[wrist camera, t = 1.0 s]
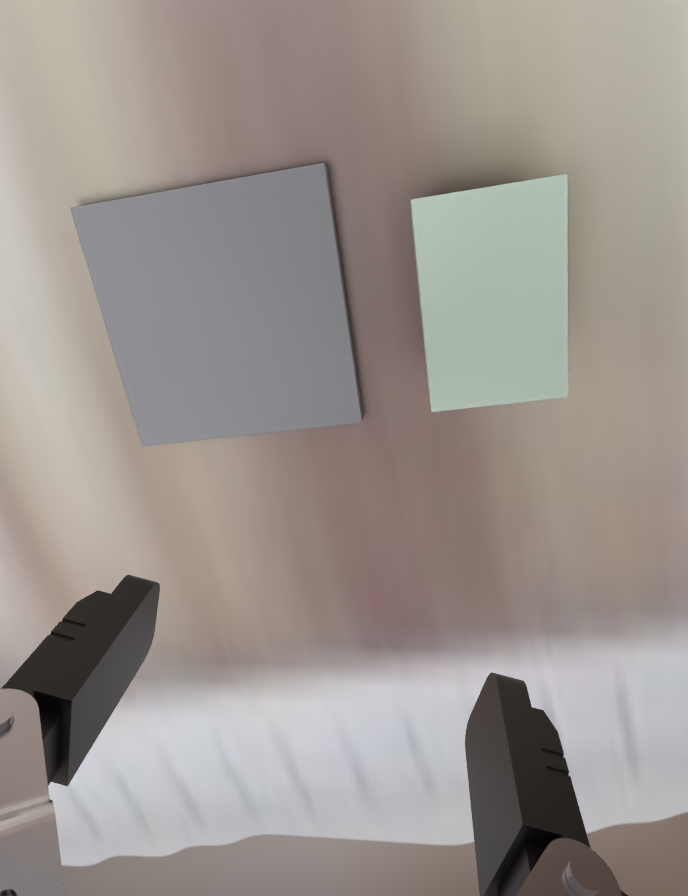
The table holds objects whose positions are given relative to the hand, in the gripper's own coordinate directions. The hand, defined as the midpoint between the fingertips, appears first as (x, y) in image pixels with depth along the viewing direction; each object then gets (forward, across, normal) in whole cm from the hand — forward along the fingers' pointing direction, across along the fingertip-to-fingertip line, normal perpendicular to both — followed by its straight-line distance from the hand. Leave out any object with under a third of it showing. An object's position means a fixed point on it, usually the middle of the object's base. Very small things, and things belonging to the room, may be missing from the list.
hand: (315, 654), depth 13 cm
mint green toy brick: (+22, -4, -7) cm, 24 cm away
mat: (+22, +9, -2) cm, 24 cm away
